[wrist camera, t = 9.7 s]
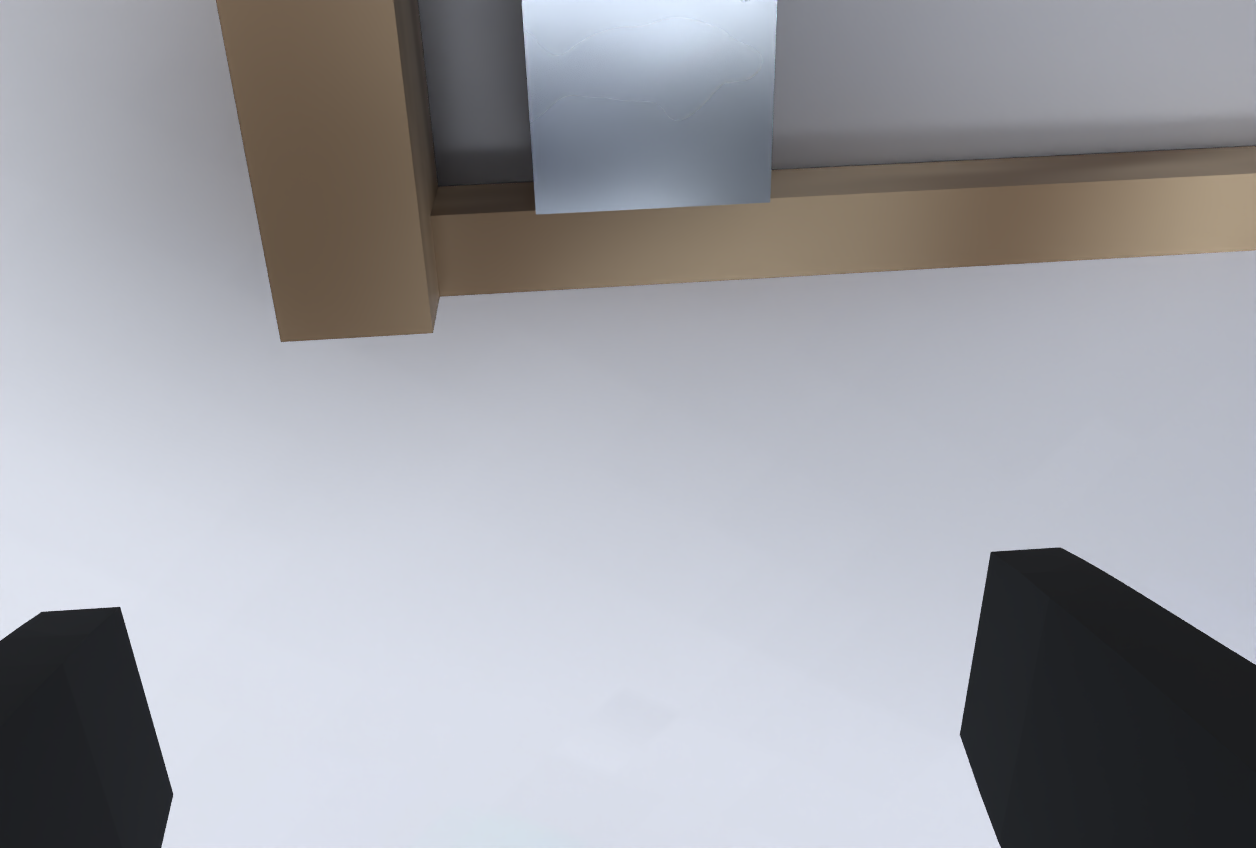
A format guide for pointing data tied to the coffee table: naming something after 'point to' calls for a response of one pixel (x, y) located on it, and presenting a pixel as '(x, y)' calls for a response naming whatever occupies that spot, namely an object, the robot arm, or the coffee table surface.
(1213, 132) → the coffee table surface
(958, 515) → the coffee table surface
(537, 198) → the block
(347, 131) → the vise frame
